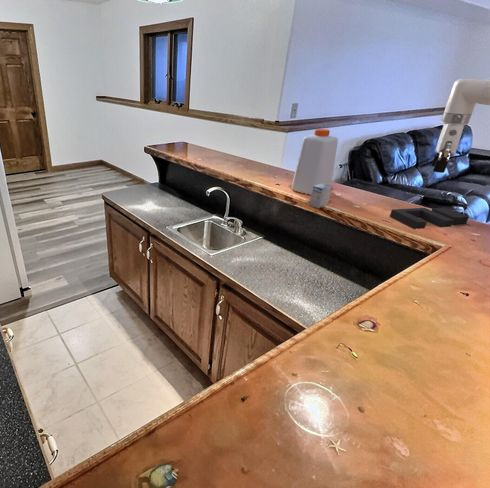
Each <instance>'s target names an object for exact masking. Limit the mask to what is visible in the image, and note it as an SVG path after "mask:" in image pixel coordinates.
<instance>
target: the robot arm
mask: <svg viewBox="0 0 490 488" xmlns="http://www.w3.org/2000/svg"><path fill="white" fill-rule="evenodd" d="M476 104H479V105H484V106H490V79H489V78H488V79H481V78H459V79H458V78H457V80H455V81H454V82H453V85H452V88H451V91H450V94H449V97H448V99H447V102H446V105H445V108H444V111H443V114H442V117H441V119H440V124H443V125H442V129H441V131H440V134H439V138H438V139H437V140H438V141H437V144H436V148H435V150H436V152H435V155H434V157H433V158H432V162H431V166H432V167H433V170H432V171H433V173H441V174H444V173H445V172H446V169H447V167H448V164H449V159H450V156H454V155H456V153H457V149H458V146H459V144H460V140H461V136H462V134H463V131H464V127H465V126H468V125H469V122H470V120H471V118H472V114H473V112H474V109H475V107H476Z"/></svg>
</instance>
